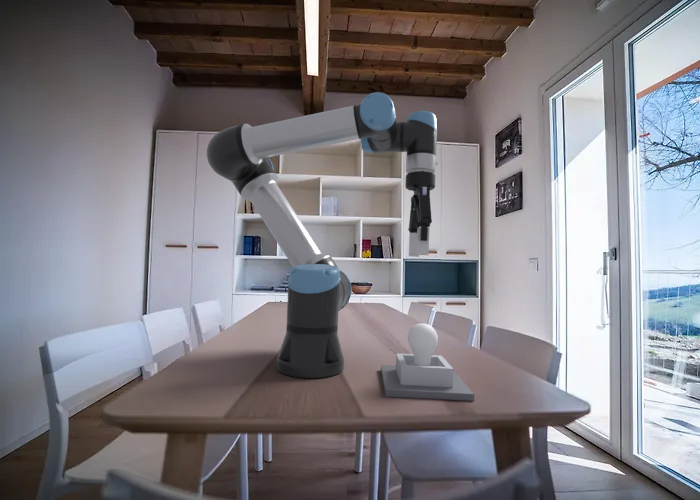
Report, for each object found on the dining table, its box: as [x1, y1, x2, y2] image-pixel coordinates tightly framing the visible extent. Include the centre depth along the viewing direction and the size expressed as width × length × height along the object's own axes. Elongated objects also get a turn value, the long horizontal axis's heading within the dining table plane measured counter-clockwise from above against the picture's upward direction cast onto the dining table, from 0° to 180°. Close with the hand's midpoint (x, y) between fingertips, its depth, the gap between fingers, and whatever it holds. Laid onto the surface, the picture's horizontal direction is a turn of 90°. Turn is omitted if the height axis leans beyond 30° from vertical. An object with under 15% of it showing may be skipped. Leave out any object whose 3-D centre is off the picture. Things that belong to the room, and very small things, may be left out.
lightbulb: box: [407, 322, 439, 366], centre depth 73 cm, size 6×6×11 cm
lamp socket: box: [380, 353, 475, 402], centre depth 72 cm, size 16×16×5 cm
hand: (417, 256), depth 90 cm, fingers open, 13 cm apart
